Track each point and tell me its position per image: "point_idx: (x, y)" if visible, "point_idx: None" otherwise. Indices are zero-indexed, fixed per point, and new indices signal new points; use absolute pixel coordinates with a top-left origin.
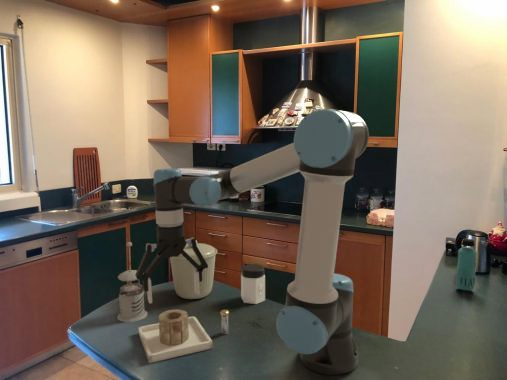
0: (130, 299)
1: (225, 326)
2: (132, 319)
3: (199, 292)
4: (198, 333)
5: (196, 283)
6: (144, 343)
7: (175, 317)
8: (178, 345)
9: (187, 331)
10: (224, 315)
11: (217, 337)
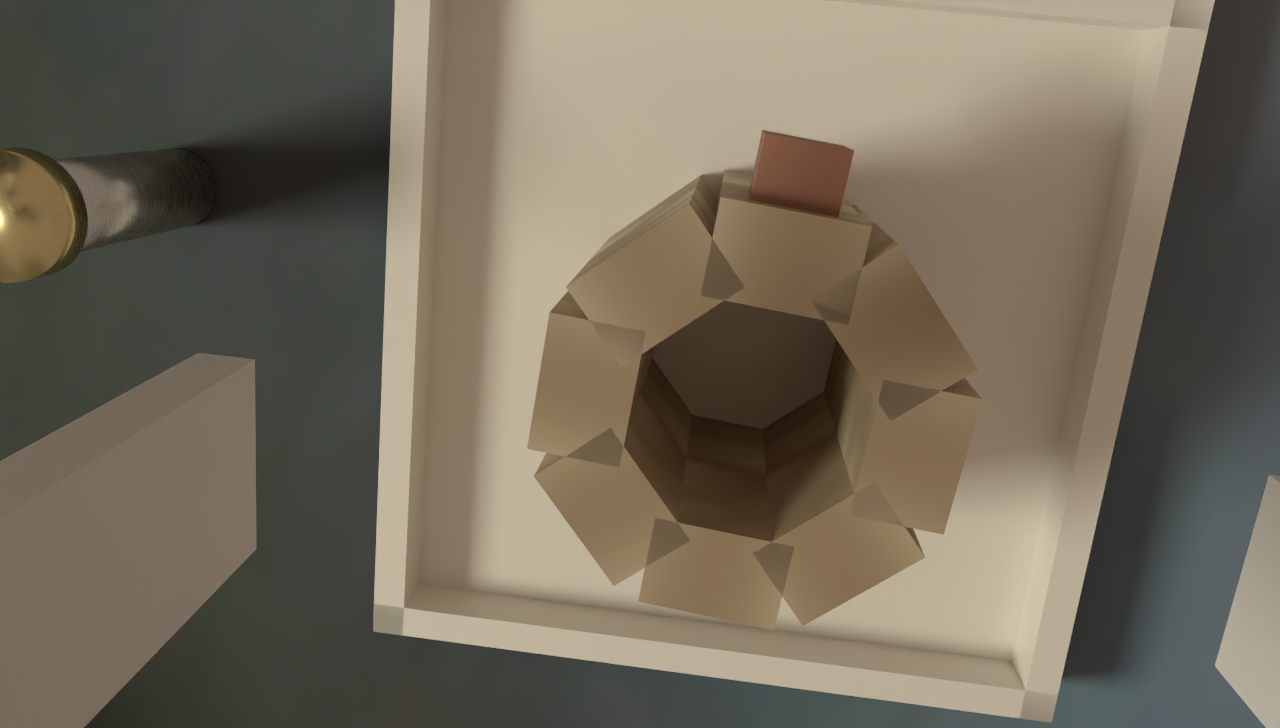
0: None
1: (129, 155)
2: None
3: (187, 362)
4: (459, 298)
5: (120, 475)
6: (1138, 317)
7: (682, 490)
8: None
9: (607, 244)
10: (43, 158)
11: (291, 137)
